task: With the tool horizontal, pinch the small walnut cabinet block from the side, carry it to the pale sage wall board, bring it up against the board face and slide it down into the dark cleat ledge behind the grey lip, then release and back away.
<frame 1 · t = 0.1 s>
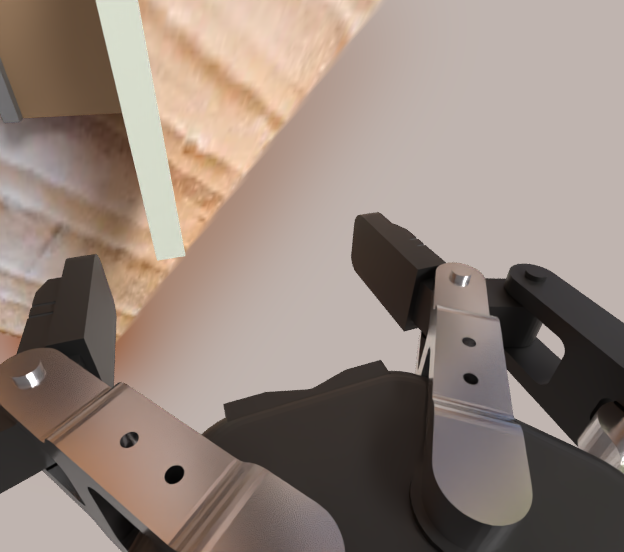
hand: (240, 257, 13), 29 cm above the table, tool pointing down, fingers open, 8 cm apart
cleat board: (118, 23, 31), on the table
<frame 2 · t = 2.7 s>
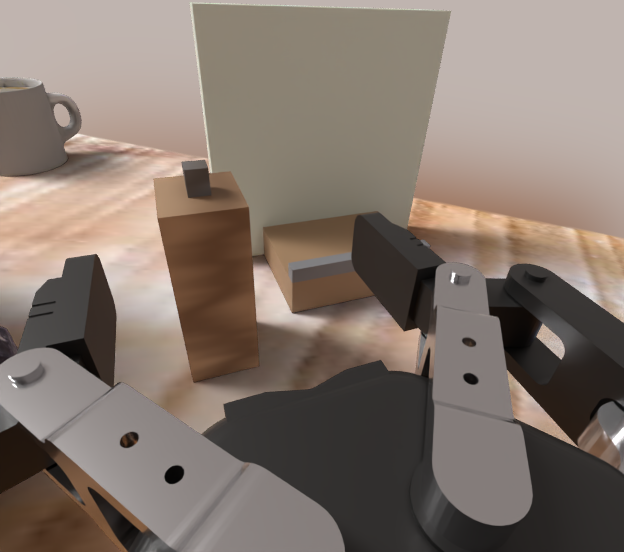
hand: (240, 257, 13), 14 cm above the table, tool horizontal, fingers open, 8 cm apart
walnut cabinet: (220, 347, 28), on the table
cleat board: (321, 245, 40), on the table
coffee mug: (42, 161, 56), on the table
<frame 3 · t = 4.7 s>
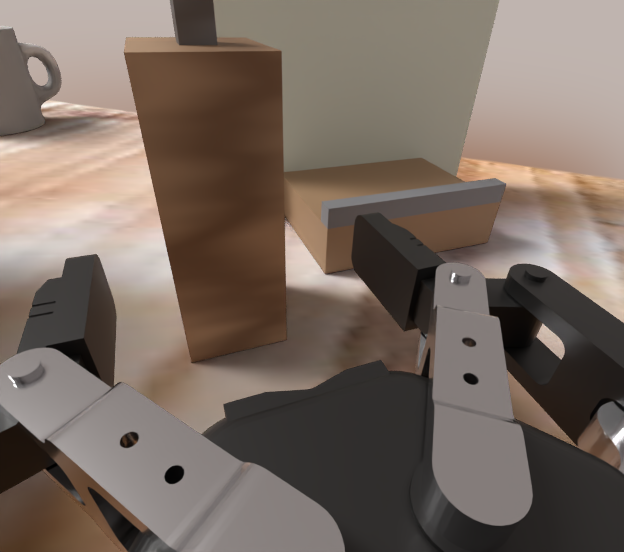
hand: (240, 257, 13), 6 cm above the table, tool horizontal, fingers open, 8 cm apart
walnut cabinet: (230, 316, 20), on the table
cleat board: (351, 200, 32), on the table
coffee mug: (15, 125, 48), on the table
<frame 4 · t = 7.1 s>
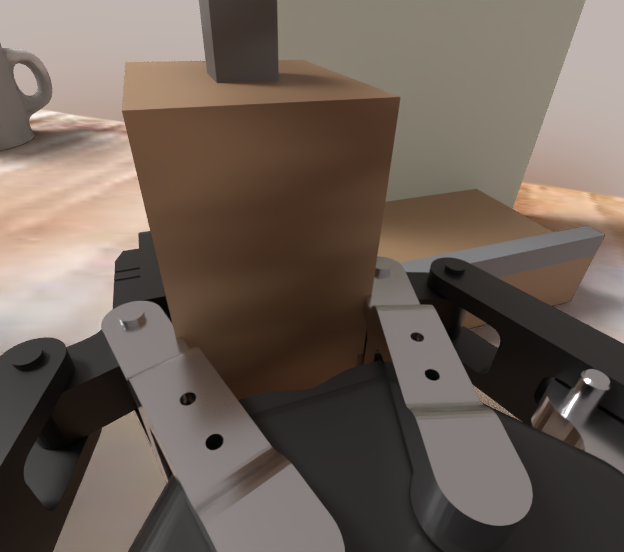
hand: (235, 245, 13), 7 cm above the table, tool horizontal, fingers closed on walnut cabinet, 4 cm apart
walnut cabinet: (265, 428, 15), on the table, touching gripper
cleat board: (393, 240, 27), on the table
coffee mug: (0, 140, 43), on the table
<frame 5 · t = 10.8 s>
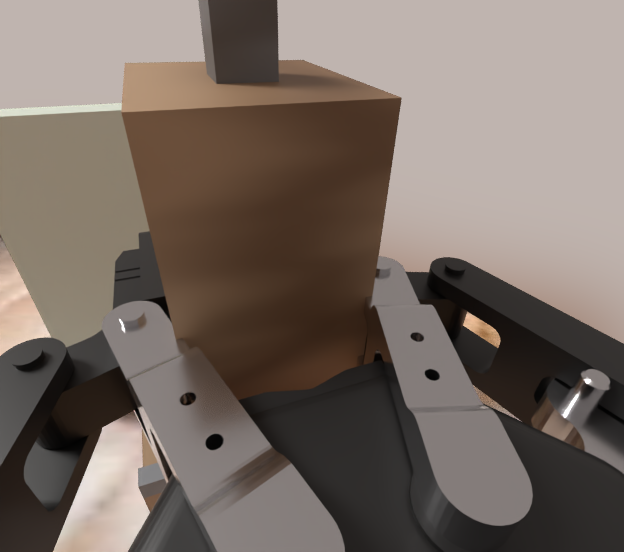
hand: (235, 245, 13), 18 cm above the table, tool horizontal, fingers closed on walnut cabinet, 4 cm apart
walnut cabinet: (265, 430, 15), point 11 cm above the table, touching gripper
cleat board: (230, 377, 31), on the table
when the fingers open (10 cm above the table, at t = 14.6 s): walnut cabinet stays where it is, resting on cleat board.
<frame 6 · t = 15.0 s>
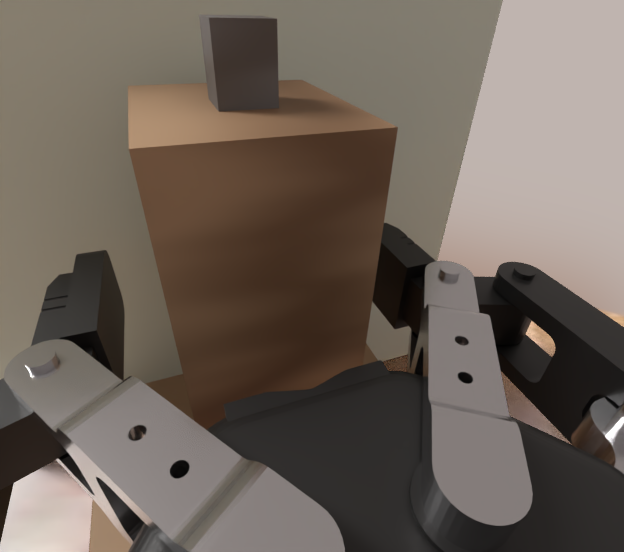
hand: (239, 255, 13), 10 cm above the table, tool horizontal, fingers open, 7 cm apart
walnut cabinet: (266, 438, 15), point 3 cm above the table, touching cleat board
cleat board: (246, 400, 20), on the table
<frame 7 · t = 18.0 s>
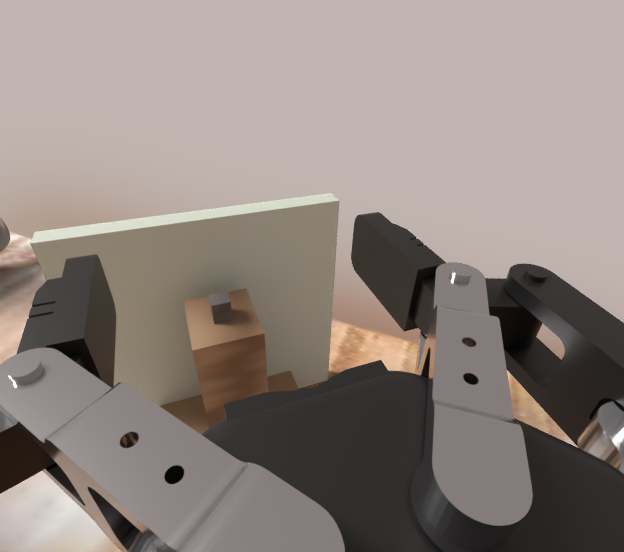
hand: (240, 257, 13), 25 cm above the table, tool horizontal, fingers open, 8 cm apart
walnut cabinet: (237, 426, 33), point 3 cm above the table, touching cleat board
cleat board: (231, 408, 38), on the table
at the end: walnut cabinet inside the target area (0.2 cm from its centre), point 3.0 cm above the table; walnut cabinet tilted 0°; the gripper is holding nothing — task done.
